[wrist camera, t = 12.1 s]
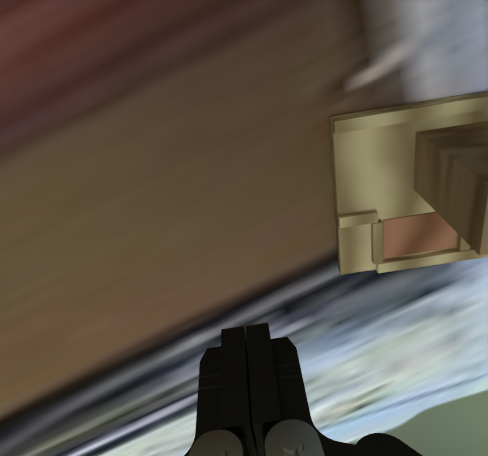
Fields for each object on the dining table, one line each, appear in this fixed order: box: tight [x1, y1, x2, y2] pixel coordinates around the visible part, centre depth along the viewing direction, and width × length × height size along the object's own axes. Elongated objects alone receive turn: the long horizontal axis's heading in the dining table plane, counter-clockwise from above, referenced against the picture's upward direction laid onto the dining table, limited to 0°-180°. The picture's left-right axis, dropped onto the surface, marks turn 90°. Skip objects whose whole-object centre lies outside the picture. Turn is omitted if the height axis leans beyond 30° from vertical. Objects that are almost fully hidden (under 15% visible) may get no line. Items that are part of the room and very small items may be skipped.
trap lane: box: [330, 91, 488, 274], centre depth 43 cm, size 27×18×5 cm, turn 99°
